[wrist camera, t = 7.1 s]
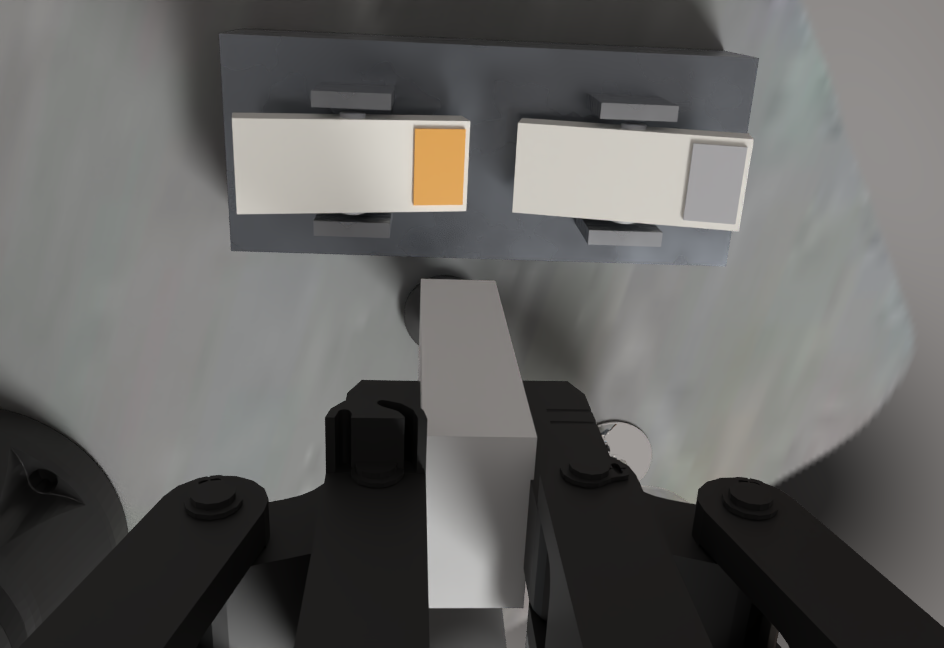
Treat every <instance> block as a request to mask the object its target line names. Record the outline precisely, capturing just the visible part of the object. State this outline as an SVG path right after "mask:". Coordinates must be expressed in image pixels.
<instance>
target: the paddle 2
mask: <svg viewBox="0 0 944 648" xmlns="http://www.w3.org/2000/svg"><path fill="white" fill-rule="evenodd" d="M753 141H754V139H753V138H752V137H751V136H750V135H749V133H734V132H720V131H705V130H691V129H676V128H662V127H647V125H646V124H642V123H632V122H625V123H621V125H618V124H604V123H589V122H575V121H560V120H546V119H531V118H522V119H521V120H520V121H519V122H518V130H517V146H516V162H515V177H514V193H513V209H512V212H514V213H526V214H538V215H549V216H561V217H573V218H585V219H597V220H609V221H612V222H615V223H620V224H633V223H644V224H656V225H668V226H680V227H692V228H704V229H716V230H728V231H739V228H740V221H741V215H742V209H743V203H744V197H745V190H746V184H747V178H748V172H749V166H750V159H751V153H752V147H753Z"/></svg>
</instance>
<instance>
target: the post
mask: <svg viewBox="0 0 944 648" xmlns="http://www.w3.org/2000/svg"><path fill="white" fill-rule="evenodd" d="M429 279H450V280H462V279H459V278H457V277H453V276H436V277H432V278H429ZM420 291H421V283H420V284H419V285H417V286H416V287H415V288H414V289H413V291H412V292H411V293H410V295H409V297H408V299H407V302H406V305H405V314H404V319H405V326H406V329H407V331H408V333H409V335H410V336H411V338H412V339H413V340H414V341H415V343H417V344H418V345H419V330H420ZM429 643H430V648H506V639H505V630H504V622H503V613H502V608H429Z"/></svg>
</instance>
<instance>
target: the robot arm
mask: <svg viewBox="0 0 944 648" xmlns="http://www.w3.org/2000/svg"><path fill="white" fill-rule="evenodd" d="M325 437H326V476H325V482H324V484H322V485H321V486H319V487H318V488H316V489H315V490H313V491H310V492H308V493H305V494H303V495H301V496H297V497H293V498H289V499H284V500H278V501H273V502H269V501H268V497H267V494H266V492H265V489H264V488H263V487H261V486H260V485H258V484H257V483H256V482H254V481H252V480H248V479H245V478H241V477H237V476H222V475H215V476H210V477H202V478H198V479H195V480H192V481H190V482H187V483H185V484H182V485H179V486H177V487H176V488H175V489H173V490H172V491H170V492H169V493H168V494H166V495H165V496H164V497H163V498H162V499H161V500H160V501H159V502H158V503H157V504H156V505H155V506H154V507H153V508H152V509H151V510H150V511H149V512H148V513H147V514H146V515H145V516H144V517H143V519H142V520H141V521H140V522H139V523H138V524H137V525H136V526H135V527H134V528H133V529H132V530H131V531H130V532H129V533H128V528H127V522H126V518H125V514H124V511H123V508H122V505H121V502H120V500H119V498H118V496H117V494H116V492H115V490H114V488H113V486H112V485H111V483H110V482H109V480H108V478H107V477H106V476H105V474H104V473H103V472H102V470H101V469H100V468H99V467H98V466H97V464H96V463H95V462H94V461H93V460H92V459H91V458H90V457H89V456H88V455H87V454H86V453H85V452H84V451H82V450H81V449H80V448H79V447H78V446H77V445H75V444H74V443H73V442H71V441H70V440H69V439H67V438H66V437H64V436H63V435H61V434H60V433H58V432H56V431H55V430H53V429H51V428H49V427H48V426H46V425H44V424H42V423H40V422H37V421H35V420H33V419H31V418H28V417H25V416H23V415H20V414H17V413H13V412H10V411H6V410H2V409H0V648H430V643H429V608H523V606H524V593H525V581H526V585H527V590H528V596H529V610H528V622H527V635H526V646H525V648H781V647H780V646H779V644H778V643H777V638H778V633H779V632H780V633H781V635H782V636H783V638H784V639H785V640H786V642H787V643H788V645H789V648H944V627H943V626H941V625H940V624H939V623H938V622H937V621H936V620H934V619H933V618H932V617H931V616H930V615H929V614H928V613H926V612H925V611H924V610H923V609H922V608H920V607H919V606H918V605H917V604H916V603H914V602H913V601H912V600H911V599H910V598H909V597H908V596H906V595H905V594H904V593H903V592H902V591H901V590H899V589H898V588H897V587H896V586H895V585H894V584H892V583H891V582H890V581H889V580H888V579H887V578H885V577H884V576H883V575H882V574H881V573H880V572H879V571H877V570H876V569H875V568H874V567H873V566H872V565H870V564H869V563H868V562H867V561H866V560H864V559H863V558H862V557H861V556H860V555H859V554H858V553H856V552H855V551H854V550H853V549H852V548H851V547H849V546H848V545H847V544H846V543H845V542H844V541H842V540H841V539H840V538H839V537H838V536H837V535H835V534H834V533H833V532H832V531H831V530H830V529H828V528H827V527H826V526H825V525H824V524H823V523H821V522H820V521H819V520H818V519H817V518H816V517H814V516H813V515H812V514H811V513H810V512H808V511H807V510H806V509H805V508H804V507H802V505H800V504H799V503H798V502H797V501H796V500H795V499H793V498H792V497H791V496H789V495H787V494H786V493H784V492H783V491H781V490H780V489H778V488H776V487H773V486H770V485H768V484H765V483H763V482H762V481H759V480H755V479H751V478H750V479H748V478H743V477H736V478H719V479H716V480H712V481H708V482H706V483H705V484H704V485H703V486H702V487H701V488H699V489H698V496H697V502H696V504H690V503H685V502H680V501H675V500H670V499H665V498H661V497H657V496H654V495H651V494H648V493H646V492H644V491H643V489H642V487H641V485H640V482H639V480H638V478H637V476H636V474H635V473H634V472H633V471H632V469H631V468H630V467H629V466H628V465H626V464H625V463H623V462H621V461H620V460H618V459H616V458H614V457H611V456H610V455H609V452H608V450H607V447H606V445H605V443H604V440H603V438H602V435H601V433H600V430H599V428H598V426H597V425H596V421H595V418H594V416H593V413H592V412H591V409H590V406H589V404H588V401H587V399H586V397H585V394H583V393H582V392H581V391H579V390H578V389H577V388H575V387H574V386H573V385H571V384H570V383H569V382H568V381H522V379H521V375H520V371H519V367H518V364H517V360H516V356H515V352H514V349H513V345H512V341H511V337H510V334H509V330H508V326H507V322H506V319H505V315H504V311H503V307H502V304H501V300H500V296H499V293H498V289H497V285H496V281H490V280H450V279H421V291H420V330H419V369H418V381H387V380H361V381H360V382H359V383H358V384H357V385H356V386H355V387H354V388H352V389H351V390H350V391H349V392H348V393H347V397H346V401H343V402H342V403H340V404H338V405H336V406H335V407H333V408H331V409H330V411H329V412H328V414H327V415H326V417H325Z"/></svg>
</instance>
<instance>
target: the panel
mask: <svg viewBox="0 0 944 648" xmlns="http://www.w3.org/2000/svg"><path fill="white" fill-rule="evenodd" d="M219 46H220V63H221V81H222V99H223V116H224V134H225V151H226V169H227V187H228V204H229V222H230V240H231V251H250V252H283V253H315V254H347V255H380V256H412V257H445V258H477V259H509V260H542V261H574V262H607V263H639V264H671V265H704V266H726V263H727V257H728V250H729V244H730V238H731V231H728V230H716V229H704V228H692V227H680V226H668V225H656V224H644V223H633V224H620V223H615V222H612V221H609V220H597V219H585V218H573V217H561V216H549V215H538V214H526V213H514V212H512V209H513V193H514V177H515V162H516V146H517V130H518V122H519V121H520V120H521V119H522V118H531V119H546V120H560V121H575V122H589V123H604V124H618V125H621V123H625V122H632V123H642V124H646V125H647V127H662V128H676V129H691V130H705V131H720V132H734V133H747V131H748V124H749V118H750V112H751V105H752V99H753V93H754V86H755V80H756V74H757V67H758V61H759V58H756V57H752V56H747V55H742V54H737V53H733V52H728V51H720V50H698V49H676V48H654V47H632V46H610V45H589V44H567V43H545V42H523V41H501V40H479V39H457V38H435V37H414V36H392V35H370V34H348V33H326V32H304V31H282V30H261V29H238V30H233V31H229V32H224V33H219ZM343 111H358V112H364V113H366V114H377V115H452V116H463V117H465V118H466V119H468V120H469V121H470V138H469V161H468V184H467V206H466V211H445V212H371V213H364V214H360V215H348V214H343V213H297V214H237V207H236V188H235V169H234V150H233V132H232V113H303V114H340V112H343Z"/></svg>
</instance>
